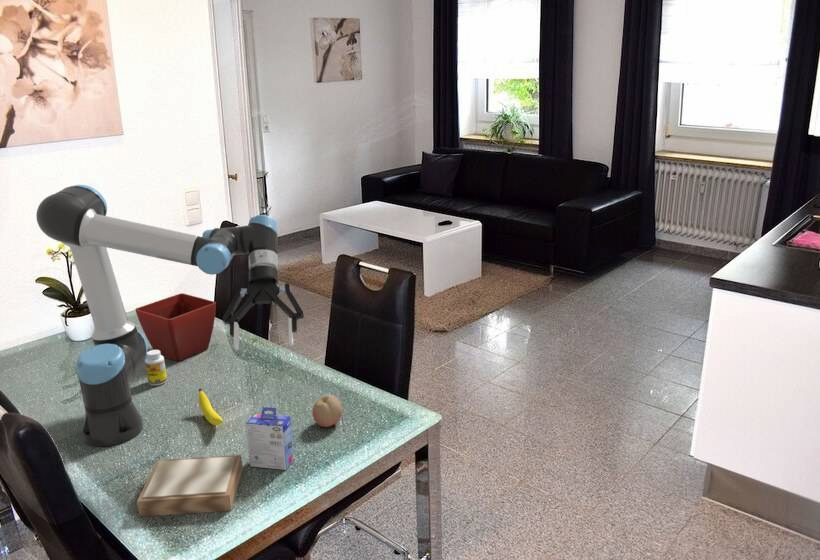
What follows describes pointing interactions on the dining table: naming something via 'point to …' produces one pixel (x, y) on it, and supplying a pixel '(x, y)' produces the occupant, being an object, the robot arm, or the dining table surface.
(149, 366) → the supplement bottle
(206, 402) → the banana
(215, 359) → the dining table surface
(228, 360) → the dining table surface
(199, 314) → the plant pot
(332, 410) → the fruit
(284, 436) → the ink cartridge box
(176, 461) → the wooden box
